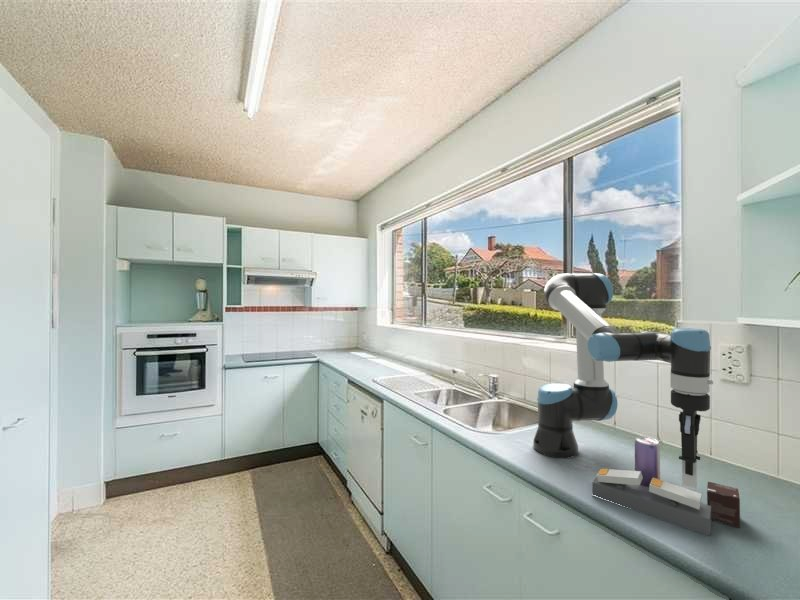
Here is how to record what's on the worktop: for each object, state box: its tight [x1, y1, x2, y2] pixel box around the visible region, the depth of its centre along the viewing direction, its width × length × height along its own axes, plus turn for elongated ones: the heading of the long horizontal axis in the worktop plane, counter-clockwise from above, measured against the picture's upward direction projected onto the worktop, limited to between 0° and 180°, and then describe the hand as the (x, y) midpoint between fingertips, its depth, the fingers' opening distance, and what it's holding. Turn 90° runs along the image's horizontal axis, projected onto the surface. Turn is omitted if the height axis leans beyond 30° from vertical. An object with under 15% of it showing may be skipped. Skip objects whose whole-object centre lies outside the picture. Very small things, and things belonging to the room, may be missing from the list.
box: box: [706, 481, 741, 529], centre depth 90 cm, size 6×6×7 cm
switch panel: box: [591, 476, 712, 537], centre depth 95 cm, size 25×7×5 cm, turn 47°
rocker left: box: [596, 468, 643, 485], centre depth 99 cm, size 10×5×2 cm, turn 46°
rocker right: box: [649, 478, 702, 509], centre depth 91 cm, size 10×5×2 cm, turn 47°
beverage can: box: [634, 436, 661, 488], centre depth 102 cm, size 6×6×15 cm
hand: (689, 485), depth 89 cm, fingers closed
